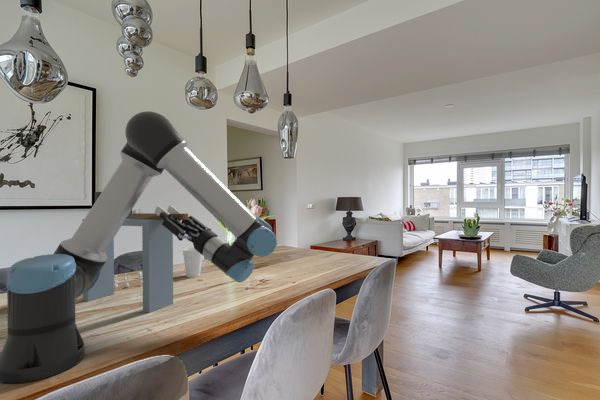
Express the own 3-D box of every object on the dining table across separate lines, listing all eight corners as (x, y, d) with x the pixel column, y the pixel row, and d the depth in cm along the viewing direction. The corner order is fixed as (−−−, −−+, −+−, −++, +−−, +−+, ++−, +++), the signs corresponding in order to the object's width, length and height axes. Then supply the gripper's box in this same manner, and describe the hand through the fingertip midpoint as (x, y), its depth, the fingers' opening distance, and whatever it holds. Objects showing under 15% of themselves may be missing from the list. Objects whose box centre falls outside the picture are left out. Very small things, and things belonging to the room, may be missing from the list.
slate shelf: (149, 312, 102) (148, 220, 103) (82, 300, 116) (82, 219, 116) (173, 303, 112) (172, 218, 112) (109, 293, 125) (108, 217, 125)
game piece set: (127, 277, 153) (126, 269, 153) (166, 278, 151) (166, 270, 151) (97, 288, 134) (97, 279, 134) (142, 289, 132) (142, 280, 132)
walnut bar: (181, 220, 102) (181, 213, 102) (129, 219, 111) (129, 213, 111) (188, 219, 104) (188, 213, 104) (137, 218, 114) (137, 213, 114)
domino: (97, 218, 117) (97, 191, 117) (94, 218, 117) (94, 192, 117) (110, 218, 121) (110, 192, 121) (107, 218, 122) (107, 192, 122)
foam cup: (178, 277, 151) (178, 250, 151) (190, 273, 160) (190, 247, 160) (195, 278, 148) (195, 250, 148) (207, 274, 157) (206, 248, 157)
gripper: (185, 260, 91) (136, 219, 100) (223, 251, 107) (178, 217, 116) (195, 238, 90) (144, 198, 98) (232, 233, 106) (186, 199, 114)
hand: (163, 208), depth 107 cm, fingers open, 4 cm apart
